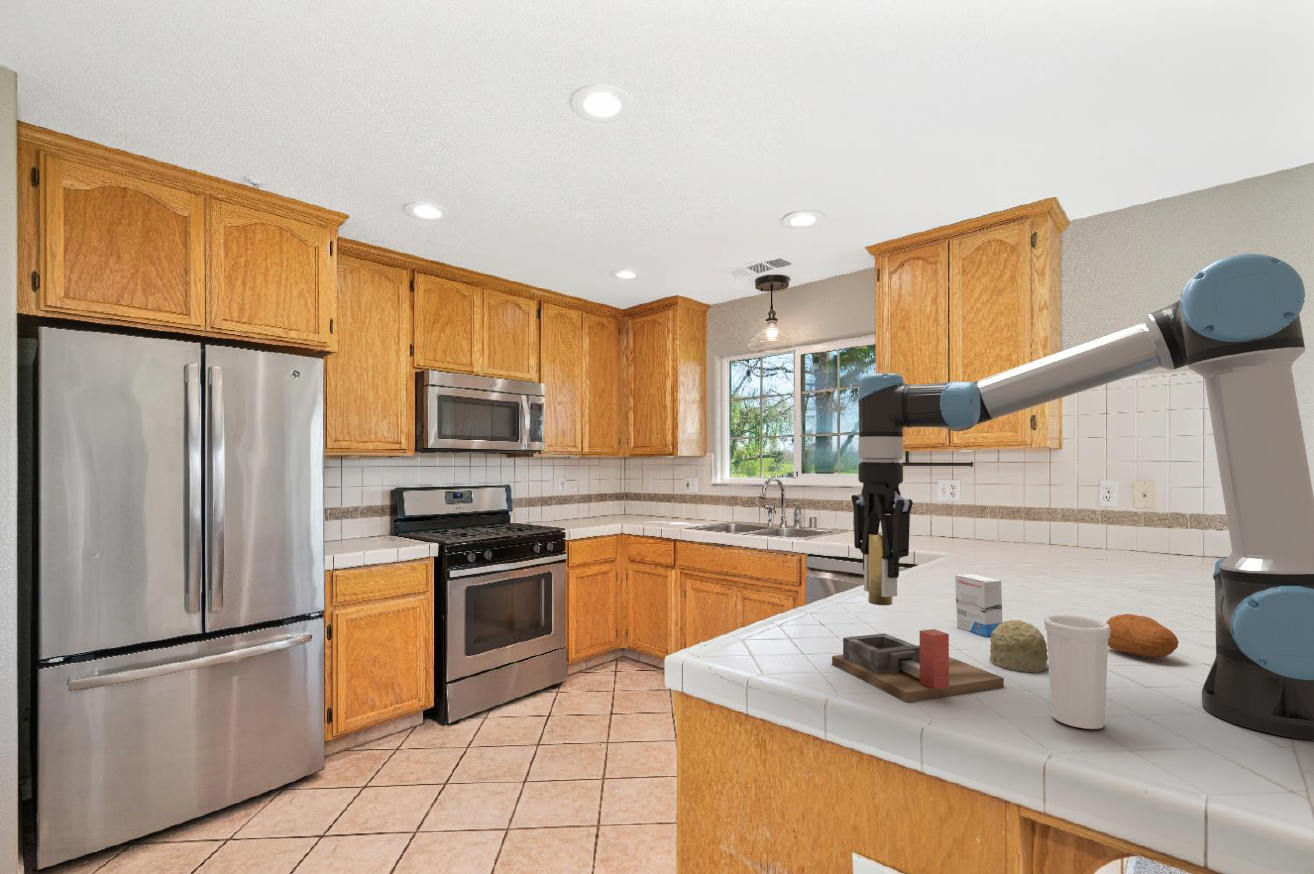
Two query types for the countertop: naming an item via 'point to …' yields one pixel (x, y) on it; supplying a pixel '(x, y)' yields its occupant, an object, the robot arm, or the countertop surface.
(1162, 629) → the potato
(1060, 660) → the cup
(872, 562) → the upright brass rod
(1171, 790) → the countertop surface
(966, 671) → the mount
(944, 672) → the pin
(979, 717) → the countertop surface
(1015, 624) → the decorative object
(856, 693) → the countertop surface
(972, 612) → the ink box
